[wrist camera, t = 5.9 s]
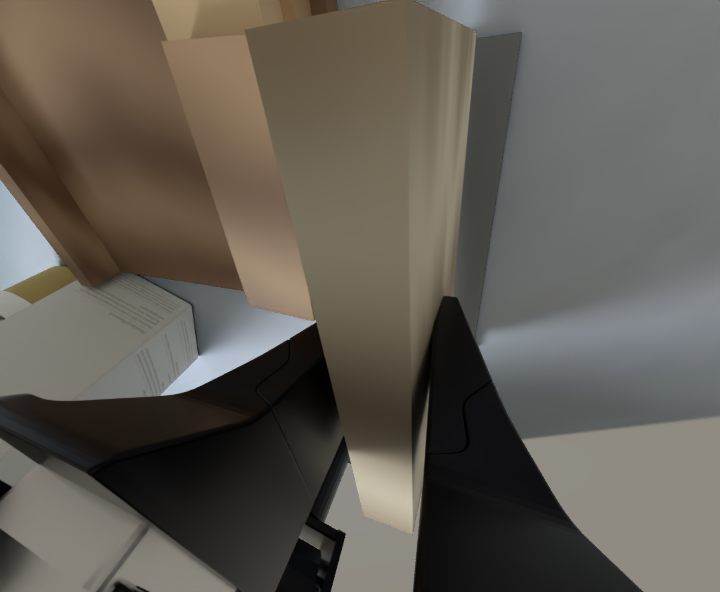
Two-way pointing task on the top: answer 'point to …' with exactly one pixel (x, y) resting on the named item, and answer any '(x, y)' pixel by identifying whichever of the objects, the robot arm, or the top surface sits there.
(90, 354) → the supplement box
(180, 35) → the offcut stack
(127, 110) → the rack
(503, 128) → the mat
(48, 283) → the log
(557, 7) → the top surface
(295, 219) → the birch panel
